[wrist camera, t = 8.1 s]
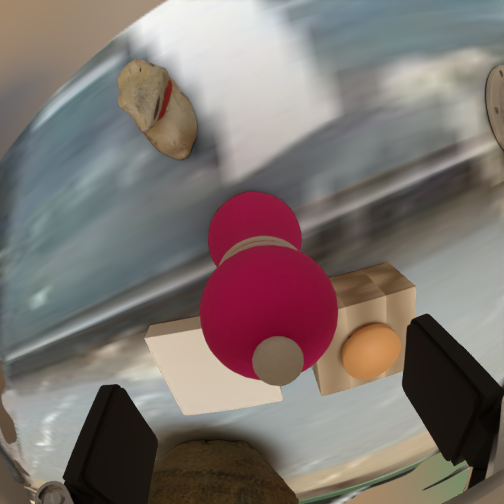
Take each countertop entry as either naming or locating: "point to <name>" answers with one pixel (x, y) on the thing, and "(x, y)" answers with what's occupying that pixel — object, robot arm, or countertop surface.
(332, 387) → the stand
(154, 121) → the chocolate bunny
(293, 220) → the pepper mill
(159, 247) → the countertop surface
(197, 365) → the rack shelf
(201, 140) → the countertop surface
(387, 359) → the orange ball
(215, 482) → the clay pot
